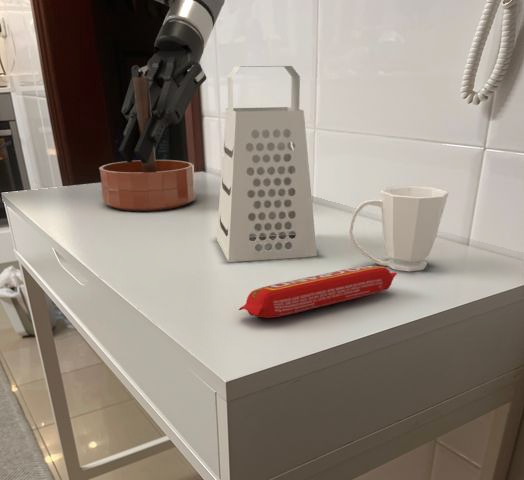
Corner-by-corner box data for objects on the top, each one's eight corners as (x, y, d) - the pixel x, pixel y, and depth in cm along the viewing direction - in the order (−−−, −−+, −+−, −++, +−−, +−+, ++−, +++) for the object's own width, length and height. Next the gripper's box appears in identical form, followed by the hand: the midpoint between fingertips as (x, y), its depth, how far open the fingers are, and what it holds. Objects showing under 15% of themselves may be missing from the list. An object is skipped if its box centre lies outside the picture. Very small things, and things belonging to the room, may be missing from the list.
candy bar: (374, 284, 56) (376, 255, 55) (399, 295, 54) (402, 265, 52) (234, 317, 49) (233, 284, 48) (255, 331, 46) (255, 297, 45)
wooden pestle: (139, 191, 92) (127, 77, 85) (160, 190, 93) (150, 77, 86) (142, 195, 89) (130, 77, 82) (164, 194, 90) (154, 77, 83)
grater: (316, 256, 65) (323, 65, 57) (228, 262, 64) (221, 65, 55) (294, 234, 75) (297, 67, 66) (216, 238, 73) (209, 67, 64)
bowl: (100, 197, 99) (96, 162, 96) (185, 192, 103) (182, 158, 101) (108, 215, 86) (103, 175, 83) (204, 208, 90) (202, 169, 88)
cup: (444, 276, 59) (455, 197, 55) (348, 273, 59) (353, 196, 56) (432, 256, 65) (442, 185, 61) (346, 255, 66) (350, 184, 62)
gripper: (232, 56, 92) (185, 175, 86) (155, 58, 98) (106, 169, 92) (215, 16, 85) (163, 141, 79) (133, 21, 91) (79, 138, 85)
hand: (132, 156), depth 85 cm, fingers closed on wooden pestle, 2 cm apart
